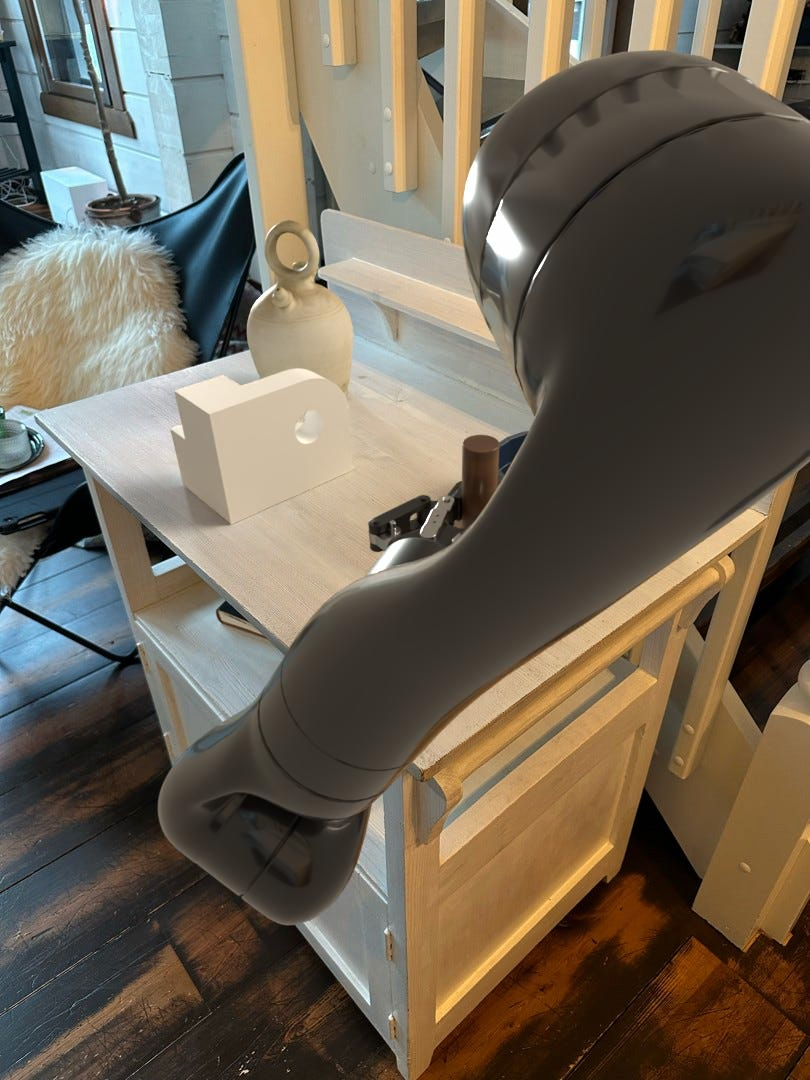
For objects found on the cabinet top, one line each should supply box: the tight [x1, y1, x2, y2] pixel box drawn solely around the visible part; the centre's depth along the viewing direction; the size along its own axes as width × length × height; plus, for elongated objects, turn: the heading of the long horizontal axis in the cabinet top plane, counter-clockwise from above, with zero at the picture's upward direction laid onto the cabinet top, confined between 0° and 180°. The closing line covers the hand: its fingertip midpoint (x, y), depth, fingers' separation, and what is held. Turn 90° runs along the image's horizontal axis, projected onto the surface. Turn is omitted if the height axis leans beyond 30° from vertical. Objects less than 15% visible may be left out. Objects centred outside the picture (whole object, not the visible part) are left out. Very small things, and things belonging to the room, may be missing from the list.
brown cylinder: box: [460, 434, 500, 529], centre depth 61 cm, size 5×4×14 cm
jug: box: [246, 219, 355, 397], centre depth 108 cm, size 15×16×25 cm
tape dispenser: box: [169, 368, 355, 525], centre depth 92 cm, size 18×12×14 cm, turn 131°
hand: (491, 491), depth 63 cm, fingers closed on brown cylinder, 3 cm apart
